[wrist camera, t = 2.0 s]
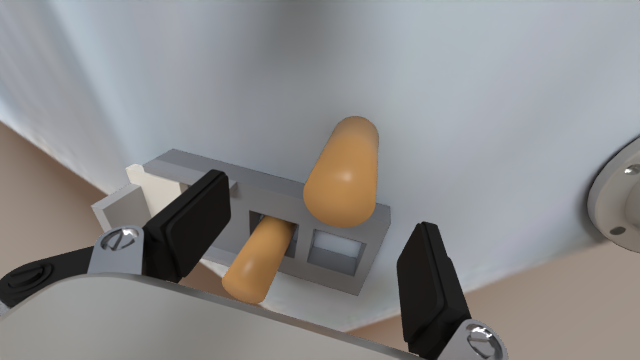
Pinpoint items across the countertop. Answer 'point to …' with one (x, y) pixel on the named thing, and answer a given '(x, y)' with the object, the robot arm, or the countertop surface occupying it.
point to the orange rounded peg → (345, 175)
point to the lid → (137, 199)
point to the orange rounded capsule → (259, 260)
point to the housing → (284, 203)
